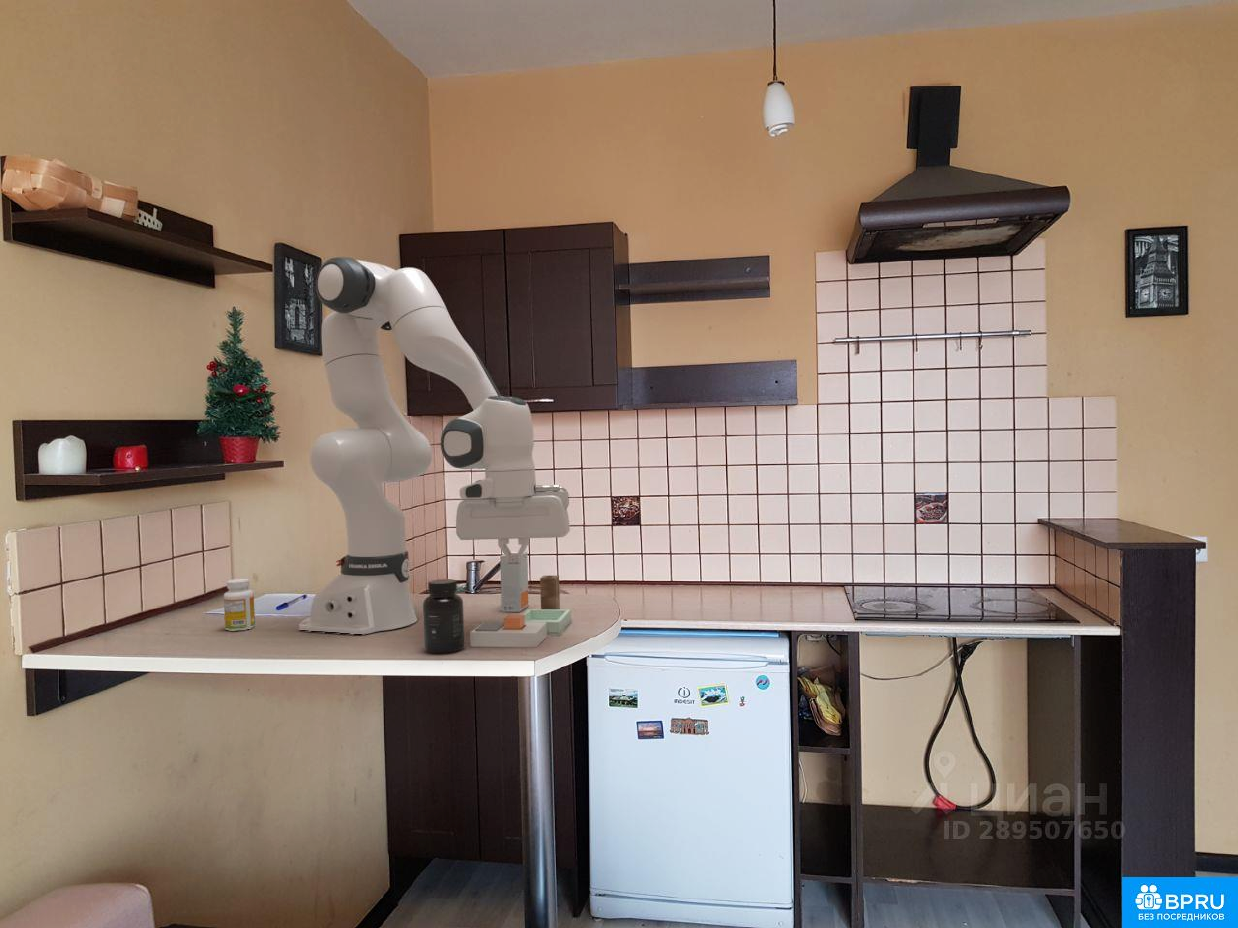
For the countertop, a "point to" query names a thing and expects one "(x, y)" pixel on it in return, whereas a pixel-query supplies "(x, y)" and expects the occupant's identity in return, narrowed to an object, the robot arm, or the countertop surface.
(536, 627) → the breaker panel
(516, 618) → the button
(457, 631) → the supplement bottle
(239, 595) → the supplement bottle
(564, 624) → the bay tray
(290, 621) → the countertop surface
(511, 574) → the skincare box
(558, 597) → the wooden block
